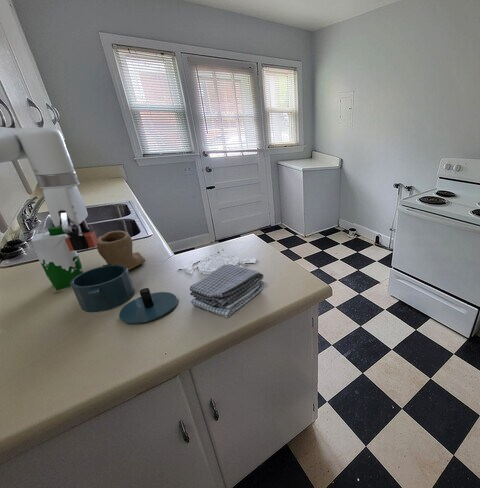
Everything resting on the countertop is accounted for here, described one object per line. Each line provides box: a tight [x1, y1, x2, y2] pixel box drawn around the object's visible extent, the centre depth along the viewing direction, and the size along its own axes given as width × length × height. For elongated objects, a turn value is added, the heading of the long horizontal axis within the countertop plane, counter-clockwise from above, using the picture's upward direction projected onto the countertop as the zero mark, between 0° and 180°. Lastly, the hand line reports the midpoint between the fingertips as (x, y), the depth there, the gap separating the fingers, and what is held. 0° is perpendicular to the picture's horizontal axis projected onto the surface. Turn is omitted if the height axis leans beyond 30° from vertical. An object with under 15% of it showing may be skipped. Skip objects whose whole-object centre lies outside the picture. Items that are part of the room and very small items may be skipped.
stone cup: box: [96, 230, 147, 271], centre depth 100 cm, size 15×12×15 cm
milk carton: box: [31, 225, 84, 291], centre depth 90 cm, size 9×9×20 cm
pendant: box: [181, 250, 257, 276], centre depth 105 cm, size 21×28×1 cm
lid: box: [118, 287, 178, 325], centre depth 79 cm, size 15×15×7 cm
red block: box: [65, 230, 99, 251], centre depth 75 cm, size 6×4×4 cm
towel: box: [189, 264, 265, 319], centre depth 84 cm, size 15×18×8 cm
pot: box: [70, 263, 136, 313], centre depth 83 cm, size 14×19×8 cm
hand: (84, 245), depth 75 cm, fingers closed on red block, 4 cm apart
